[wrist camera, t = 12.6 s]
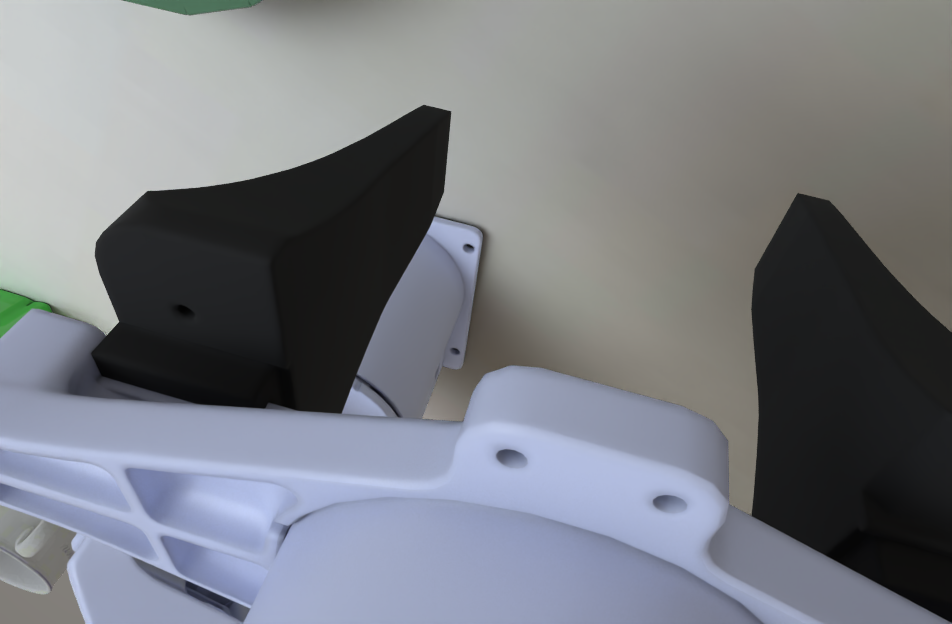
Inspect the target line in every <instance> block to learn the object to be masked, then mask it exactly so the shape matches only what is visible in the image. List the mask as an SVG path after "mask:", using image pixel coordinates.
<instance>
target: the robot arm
mask: <svg viewBox="0 0 952 624" xmlns="http://www.w3.org/2000/svg"><path fill="white" fill-rule="evenodd" d="M450 120H451V111H447V110H443V109H439V108H435V107H430V106H426V105H423V106H421V107H419V108H417V109H415V110H413V111H411V112H410V113H408V114H406V115H404V116H403V117H401V118H399V119H398V120H396V121H394V122H393V123H391V124H389V125H387V126H385V127H384V128H382V129H380V130H378V131H376V132H375V133H373V134H371V135H369V136H368V137H366V138H364V139H362V140H360V141H357V142H355V143H353V144H351V145H349V146H347V147H345V148H343V149H341V150H339V151H337V152H335V153H332V154H330V155H328V156H325V157H323V158H320V159H318V160H315V161H313V162H310V163H307V164H304V165H301V166H298V167H295V168H292V169H289V170H285V171H281V172H278V173H274V174H270V175H266V176H262V177H258V178H254V179H250V180H245V181H240V182H234V183H229V184H222V185H215V186H208V187H200V188H189V189H176V190H162V191H147V192H146V193H145V194H144V195H143V196H141V197H140V198H139V199H138V200H137V201H136V202H135V203H134V204H133V205H132V206H131V207H130V208H129V209H127V210H126V211H125V212H124V213H123V214H122V215H121V216H120V217H119V218H118V219H117V220H116V221H115V222H113V223H112V224H111V225H110V226H109V227H108V228H107V229H106V230H105V231H104V232H103V233H102V234H101V236H100V237H99V239H98V240H97V242H96V248H95V258H96V262H97V266H98V270H99V273H100V276H101V278H102V281H103V283H104V286H105V288H106V290H107V293H108V295H109V298H110V300H111V303H112V305H113V307H114V310H115V312H116V315H117V317H118V320H119V323H118V324H117V325H116V326H115V327H114V328H113V329H112V330H111V332H110V333H109V334H108V335H107V336H106V335H105V334H104V333H103V332H102V331H101V330H99V329H98V328H97V327H95V326H93V325H91V324H89V323H86V322H83V321H79V320H76V319H72V318H69V317H65V316H62V315H58V314H55V313H51V312H48V311H44V310H41V309H31V310H30V311H29V312H28V313H27V314H26V315H24V316H23V317H22V318H21V319H20V320H19V321H18V322H17V323H16V324H15V325H14V326H13V327H12V328H11V329H10V330H9V331H8V332H6V333H5V334H4V335H3V336H2V337H1V338H0V505H1V506H4V507H7V508H10V509H13V510H16V511H19V512H22V513H25V514H28V515H31V516H34V517H36V518H39V519H42V520H45V521H47V522H50V523H52V524H55V525H58V526H60V527H63V528H65V529H68V530H71V531H73V532H76V533H77V534H76V536H75V537H74V538H73V540H72V542H71V546H72V550H73V551H75V553H74V554H73V556H72V557H71V559H70V560H69V561H68V563H67V571H68V575H69V579H70V583H71V586H72V588H73V591H74V593H75V596H76V599H77V602H78V604H79V607H80V610H81V613H82V615H83V618H84V621H85V623H86V624H952V332H950V331H949V330H948V329H947V328H946V327H945V326H944V325H943V324H941V323H940V322H939V321H938V320H937V319H936V318H935V317H933V316H932V315H931V314H930V313H929V312H928V311H927V310H926V309H925V308H924V307H923V306H922V305H921V304H920V303H919V302H918V301H917V300H916V299H915V298H914V297H913V296H912V295H911V294H910V293H909V292H908V291H907V290H906V289H905V288H904V287H903V286H902V285H901V284H900V283H899V282H898V280H897V279H896V278H895V277H894V276H893V275H892V274H891V273H890V272H889V270H888V269H887V268H886V267H885V266H884V265H883V264H882V262H881V261H880V260H879V259H878V258H877V256H876V255H875V254H874V253H873V252H872V251H871V249H870V248H869V247H868V246H867V244H866V243H865V242H864V241H863V240H862V238H861V237H860V236H859V235H858V233H857V232H856V231H855V230H854V228H853V227H852V226H851V225H850V224H849V222H848V221H847V220H846V219H845V218H844V216H843V215H842V214H841V213H840V212H839V211H838V209H837V208H836V207H835V206H834V205H833V204H832V203H831V202H830V201H829V200H824V199H820V198H816V197H812V196H807V195H803V194H799V193H798V194H797V195H796V197H795V199H794V201H793V202H792V204H791V206H790V208H789V209H788V211H787V213H786V215H785V217H784V218H783V220H782V222H781V224H780V225H779V227H778V229H777V231H776V233H775V234H774V236H773V238H772V240H771V241H770V243H769V245H768V247H767V248H766V250H765V252H764V254H763V256H762V257H761V259H760V261H759V263H758V264H757V266H756V268H755V273H754V283H753V294H752V309H751V310H752V325H753V338H754V351H755V362H756V374H757V386H758V402H759V422H758V443H757V460H756V473H755V486H754V497H753V507H752V516H750V515H749V514H747V513H745V512H743V511H741V510H739V509H737V508H735V507H734V506H732V505H730V504H729V459H728V440H727V439H726V437H725V436H724V435H723V433H722V432H721V431H720V429H719V428H718V427H717V425H716V424H715V423H714V421H712V420H710V419H709V418H707V417H704V416H702V415H700V414H698V413H696V412H694V411H692V410H690V409H687V408H685V407H683V406H681V405H677V404H673V403H670V402H666V401H662V400H659V399H655V398H651V397H648V396H644V395H640V394H637V393H633V392H629V391H626V390H622V389H618V388H615V387H611V386H607V385H603V384H600V383H596V382H592V381H589V380H585V379H581V378H578V377H574V376H570V375H567V374H563V373H559V372H556V371H552V370H548V369H545V368H537V367H527V366H516V365H512V366H508V367H505V368H502V369H498V370H495V371H492V372H489V373H486V374H485V375H484V376H483V377H482V379H481V380H480V382H479V383H478V385H477V386H476V388H475V389H474V391H473V394H472V397H471V400H470V403H469V406H468V409H467V412H466V415H465V418H464V421H463V422H460V421H445V420H430V419H422V417H423V415H424V412H425V409H426V407H427V404H428V402H429V399H430V397H431V394H432V391H433V389H434V386H435V384H436V381H437V378H438V376H439V373H440V371H441V368H442V366H443V367H447V368H451V369H460V368H461V367H462V365H463V363H464V358H465V352H466V345H467V338H468V332H469V325H470V319H471V312H472V306H473V299H474V293H475V286H476V280H477V273H478V267H479V260H480V254H481V247H482V240H483V234H482V232H481V231H480V230H479V229H478V228H476V227H474V226H470V225H466V224H462V223H458V222H454V221H450V220H446V219H442V218H439V217H435V214H436V211H437V208H438V206H439V203H440V201H441V198H442V195H443V193H444V185H445V174H446V163H447V152H448V142H449V131H450ZM466 244H470V245H472V246H473V247H474V248H470V247H468V246H467V245H466ZM455 348H456V349H455Z"/></svg>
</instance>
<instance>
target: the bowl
mask: <svg viewBox="0 0 952 624" xmlns="http://www.w3.org/2000/svg"><path fill="white" fill-rule="evenodd" d="M123 1H127V2H132V3H136V4H140V5H145V6H149V7H153V8H158V9H162V10H166V11H171V12H175V13H179V14H184V15H197V14H204V13H211V12H219V11H226V10H233V9H241V8H248V7H252V6H255V5H257V4H258V3H260V2H261V1H263V0H123Z"/></svg>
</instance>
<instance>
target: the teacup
mask: <svg viewBox="0 0 952 624" xmlns="http://www.w3.org/2000/svg"><path fill="white" fill-rule="evenodd" d="M76 534H77V533H76V532H73V531H71V530H68V529H65V528H63V527H60V526H58V525H55V524H52V523H50V522H47V521H45V520H42V519H39V518H36V517H34V516H31V515H28V514H25V513H22V512H19V511H16V510H13V509H10V508H7V507H4V506H1V505H0V580H2V581H5V582H7V583H9V584H11V585H13V586H16V587H19V588H21V589H24V590H27V591H30V592H33V593H39V594H48V593H49V592H50V591H51V590H52V588H53V586H54V584H55V583H56V582H57V580H58V579H59V578H60V577H61V575H62V574H63V573H64V571H65V570H66V569H67V563H68V561H69V560H70V559H71V557H72V556H73V554H74V553H75V551H73V550H72V546H71V542H72V540H73V538H74V537H75V536H76Z"/></svg>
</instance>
